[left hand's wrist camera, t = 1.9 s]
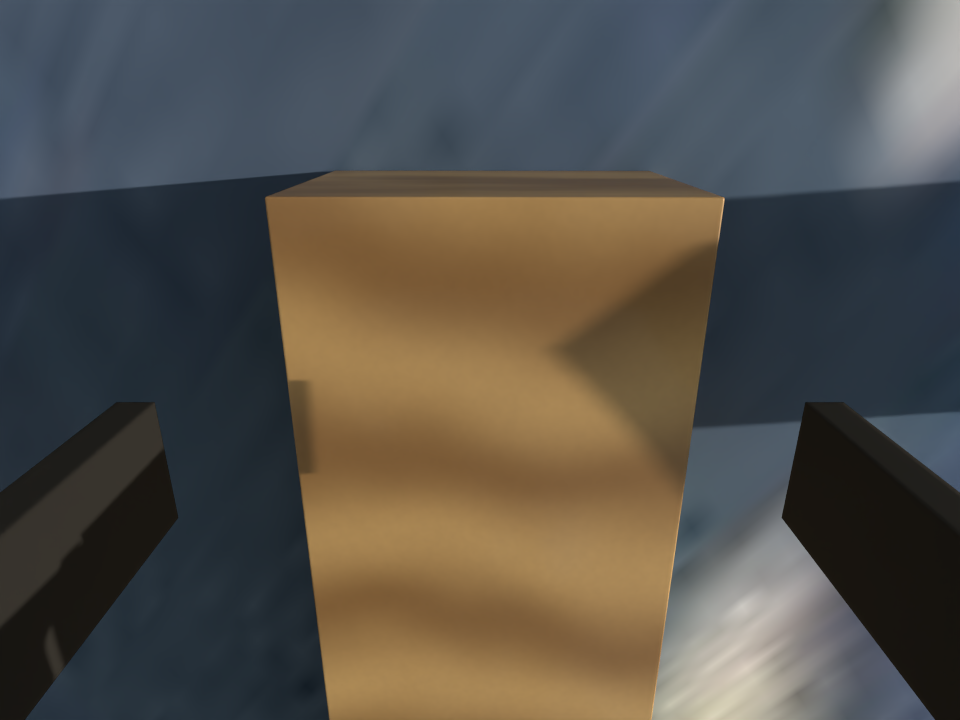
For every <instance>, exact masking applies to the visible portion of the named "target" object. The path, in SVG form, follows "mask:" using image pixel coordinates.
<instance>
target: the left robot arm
mask: <svg viewBox="0 0 960 720" xmlns="http://www.w3.org/2000/svg"><path fill="white" fill-rule="evenodd" d="M177 519H178V514H177V509H176V504H175V499H174V494H173V490H172V485H171V480H170V475H169V470H168V465H167V460H166V456H165V451H164V446H163V441H162V436H161V431H160V427H159V422H158V417H157V412H156V407H155V402H116V403H115V404H114V405H113V406H111V407H110V408H109V409H107V410H106V411H105V412H103V413H102V414H101V415H100V416H98V417H97V418H96V419H94V420H93V421H92V422H91V423H89V424H88V425H87V426H85V427H84V428H83V429H82V430H80V431H79V432H78V433H76V434H75V435H74V436H73V437H71V438H70V439H69V440H67V441H66V442H65V443H64V444H62V445H61V446H60V447H58V448H57V449H56V450H55V451H53V452H52V453H51V454H49V455H48V456H47V457H46V458H44V459H43V460H42V461H40V462H39V463H38V464H37V465H35V466H34V467H33V468H31V469H30V470H29V471H27V472H26V473H25V474H24V475H22V476H21V477H20V478H18V479H17V480H16V481H15V482H13V483H12V484H11V485H9V486H8V487H7V488H6V489H4V490H3V491H2V492H0V720H25V719H26V717H27V716H28V715H29V714H30V712H31V711H32V710H33V708H34V707H35V706H36V704H37V703H38V702H39V700H40V699H41V698H42V696H43V695H44V694H45V692H46V691H47V690H48V688H49V687H50V686H51V685H52V683H53V682H54V681H55V679H56V678H57V677H58V675H59V674H60V673H61V671H62V670H63V669H64V667H65V666H66V665H67V663H68V662H69V661H70V660H71V658H72V657H73V656H74V654H75V653H76V652H77V650H78V649H79V648H80V646H81V645H82V644H83V642H84V641H85V640H86V638H87V637H88V636H89V634H90V633H91V632H92V631H93V629H94V628H95V627H96V625H97V624H98V623H99V621H100V620H101V619H102V617H103V616H104V615H105V613H106V612H107V611H108V609H109V608H110V607H111V606H112V604H113V603H114V602H115V600H116V599H117V598H118V596H119V595H120V594H121V592H122V591H123V590H124V588H125V587H126V586H127V584H128V583H129V582H130V581H131V579H132V578H133V577H134V575H135V574H136V573H137V571H138V570H139V569H140V567H141V566H142V565H143V563H144V562H145V561H146V559H147V558H148V557H149V555H150V554H151V553H152V552H153V550H154V549H155V548H156V546H157V545H158V544H159V542H160V541H161V540H162V538H163V537H164V536H165V534H166V533H167V532H168V530H169V529H170V528H171V527H172V525H173V524H174V523H175V521H176V520H177ZM782 519H783V520H784V521H785V523H786V524H787V525H788V527H789V528H790V529H791V530H792V532H793V533H794V534H795V536H796V537H797V538H798V540H799V541H800V542H801V544H802V545H803V546H804V548H805V549H806V550H807V552H808V553H809V554H810V555H811V557H812V558H813V559H814V561H815V562H816V563H817V565H818V566H819V567H820V569H821V570H822V571H823V573H824V574H825V575H826V577H827V578H828V579H829V581H830V582H831V583H832V584H833V586H834V587H835V588H836V590H837V591H838V592H839V594H840V595H841V596H842V598H843V599H844V600H845V602H846V603H847V604H848V606H849V607H850V608H851V609H852V611H853V612H854V613H855V615H856V616H857V617H858V619H859V620H860V621H861V623H862V624H863V625H864V627H865V628H866V629H867V631H868V632H869V633H870V634H871V636H872V637H873V638H874V640H875V641H876V642H877V644H878V645H879V646H880V648H881V649H882V650H883V652H884V653H885V654H886V656H887V657H888V658H889V660H890V661H891V662H892V663H893V665H894V666H895V667H896V669H897V670H898V671H899V673H900V674H901V675H902V677H903V678H904V679H905V681H906V682H907V683H908V685H909V686H910V687H911V688H912V690H913V691H914V692H915V694H916V695H917V696H918V698H919V699H920V700H921V702H922V703H923V704H924V706H925V707H926V708H927V710H928V711H929V712H930V714H931V715H932V716H933V717H934V719H935V720H960V492H958V491H957V490H956V489H954V488H953V487H952V486H951V485H949V484H948V483H947V482H945V481H944V480H943V479H942V478H940V477H939V476H938V475H936V474H935V473H934V472H933V471H931V470H930V469H929V468H927V467H926V466H925V465H923V464H922V463H921V462H920V461H918V460H917V459H916V458H914V457H913V456H912V455H911V454H909V453H908V452H907V451H905V450H904V449H903V448H902V447H900V446H899V445H898V444H896V443H895V442H894V441H893V440H891V439H890V438H889V437H887V436H886V435H885V434H884V433H882V432H881V431H880V430H878V429H877V428H876V427H875V426H873V425H872V424H871V423H869V422H868V421H867V420H866V419H864V418H863V417H862V416H860V415H859V414H858V413H857V412H855V411H854V410H853V409H851V408H850V407H849V406H847V405H846V404H845V403H844V402H805V407H804V412H803V417H802V422H801V426H800V431H799V436H798V441H797V446H796V451H795V456H794V460H793V465H792V470H791V475H790V480H789V485H788V490H787V494H786V499H785V504H784V509H783V514H782Z"/></svg>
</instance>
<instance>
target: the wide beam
mask: <svg viewBox="0 0 960 720" xmlns="http://www.w3.org/2000/svg"><path fill="white" fill-rule="evenodd" d="M265 203H266V211H267V219H268V228H269V236H270V244H271V252H272V260H273V268H274V276H275V284H276V292H277V300H278V309H279V317H280V325H281V333H282V341H283V349H284V357H285V365H286V373H287V381H288V390H289V398H290V406H291V414H292V422H293V430H294V438H295V446H296V454H297V462H298V471H299V479H300V487H301V495H302V503H303V511H304V519H305V527H306V535H307V543H308V552H309V560H310V568H311V576H312V584H313V592H314V600H315V608H316V616H317V624H318V633H319V641H320V649H321V657H322V665H323V673H324V681H325V689H326V697H327V705H328V714H329V720H651V719H652V711H653V704H654V697H655V690H656V683H657V676H658V669H659V662H660V655H661V647H662V640H663V633H664V626H665V619H666V612H667V605H668V598H669V591H670V583H671V576H672V569H673V562H674V555H675V548H676V541H677V534H678V527H679V519H680V512H681V505H682V498H683V491H684V484H685V477H686V470H687V463H688V455H689V448H690V441H691V434H692V427H693V420H694V413H695V406H696V398H697V391H698V384H699V377H700V370H701V363H702V356H703V349H704V342H705V334H706V327H707V320H708V313H709V306H710V299H711V292H712V285H713V278H714V270H715V263H716V256H717V249H718V242H719V235H720V228H721V221H722V214H723V206H724V197H721V196H718V195H715V194H713V193H710V192H707V191H704V190H701V189H698V188H696V187H693V186H690V185H687V184H684V183H681V182H679V181H676V180H673V179H670V178H667V177H665V176H662V175H659V174H656V173H653V172H650V171H333V172H330V173H328V174H325V175H323V176H320V177H317V178H315V179H312V180H309V181H307V182H304V183H301V184H299V185H296V186H293V187H291V188H288V189H285V190H283V191H280V192H277V193H275V194H272V195H269V196H267V197H265Z"/></svg>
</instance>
